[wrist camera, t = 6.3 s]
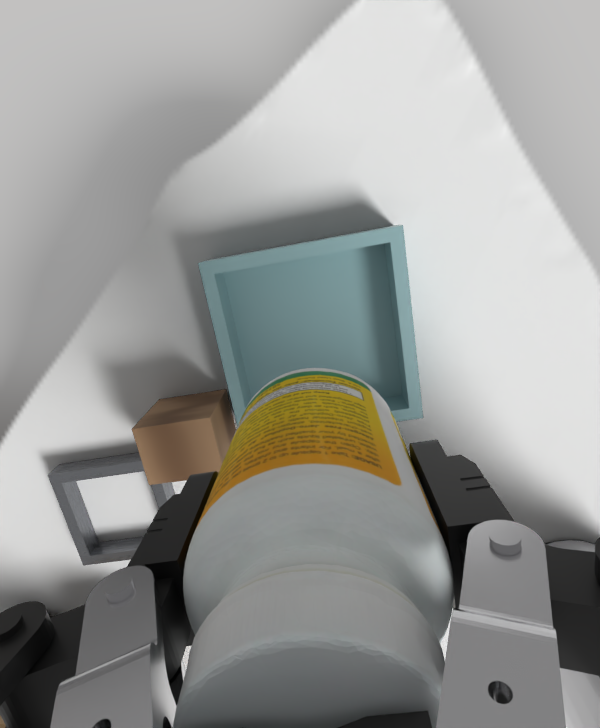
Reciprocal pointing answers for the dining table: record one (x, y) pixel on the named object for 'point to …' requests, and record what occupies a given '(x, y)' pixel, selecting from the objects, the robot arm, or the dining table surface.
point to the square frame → (77, 514)
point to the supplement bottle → (315, 568)
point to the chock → (185, 436)
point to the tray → (317, 315)
